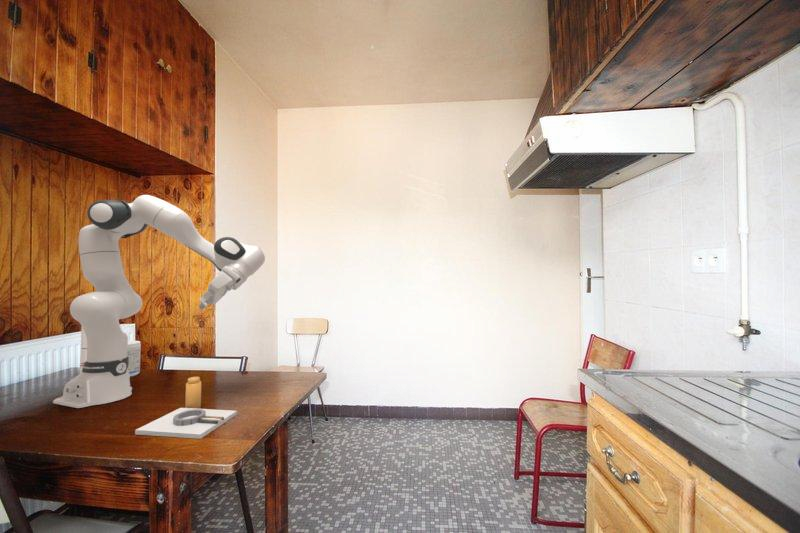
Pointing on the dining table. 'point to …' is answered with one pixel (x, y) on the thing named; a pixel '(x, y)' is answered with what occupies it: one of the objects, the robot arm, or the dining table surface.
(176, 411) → the plate
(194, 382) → the tan capped bottle
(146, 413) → the dining table surface
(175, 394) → the dining table surface
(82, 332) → the cylindrical container
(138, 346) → the supplement tub
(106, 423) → the dining table surface
